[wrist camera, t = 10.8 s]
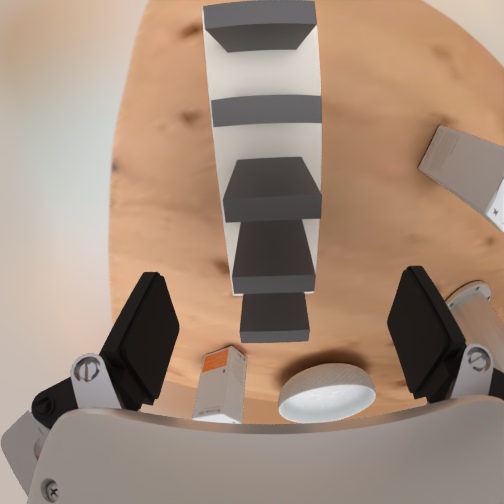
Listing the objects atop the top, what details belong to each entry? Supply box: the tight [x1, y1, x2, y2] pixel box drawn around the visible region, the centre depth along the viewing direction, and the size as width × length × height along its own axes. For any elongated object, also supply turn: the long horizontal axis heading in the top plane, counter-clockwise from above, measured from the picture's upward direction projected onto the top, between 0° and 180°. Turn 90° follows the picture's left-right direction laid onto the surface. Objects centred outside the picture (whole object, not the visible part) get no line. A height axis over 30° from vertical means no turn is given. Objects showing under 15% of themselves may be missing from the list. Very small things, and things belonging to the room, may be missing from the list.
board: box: [202, 11, 322, 296], centre depth 25 cm, size 32×10×1 cm, turn 4°
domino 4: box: [232, 219, 316, 294], centre depth 24 cm, size 2×6×10 cm, turn 94°
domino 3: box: [223, 157, 322, 223], centre depth 21 cm, size 2×6×10 cm, turn 95°
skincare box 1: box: [192, 346, 247, 424], centre depth 37 cm, size 6×4×12 cm
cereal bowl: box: [278, 363, 376, 423], centre depth 42 cm, size 17×17×7 cm
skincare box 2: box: [418, 125, 504, 233], centre depth 18 cm, size 6×4×12 cm
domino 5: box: [240, 292, 310, 343], centre depth 27 cm, size 2×6×10 cm, turn 94°
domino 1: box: [203, 0, 317, 53], centre depth 14 cm, size 2×6×10 cm, turn 94°
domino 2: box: [211, 95, 322, 127], centre depth 18 cm, size 2×6×10 cm, turn 94°
